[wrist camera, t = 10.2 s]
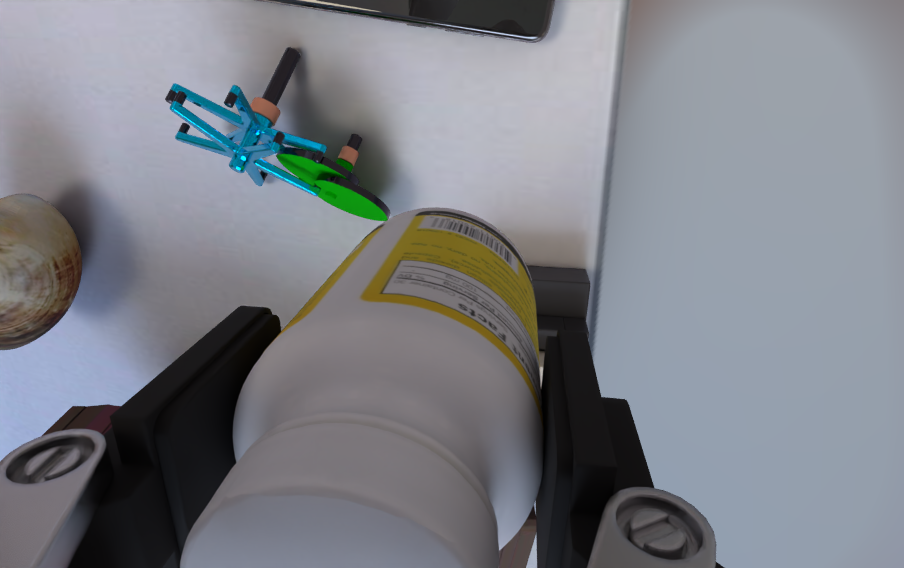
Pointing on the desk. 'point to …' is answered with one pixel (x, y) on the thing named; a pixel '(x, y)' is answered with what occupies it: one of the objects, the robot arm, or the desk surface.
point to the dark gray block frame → (559, 300)
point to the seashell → (34, 268)
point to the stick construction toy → (277, 145)
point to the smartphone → (450, 15)
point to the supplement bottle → (390, 412)
